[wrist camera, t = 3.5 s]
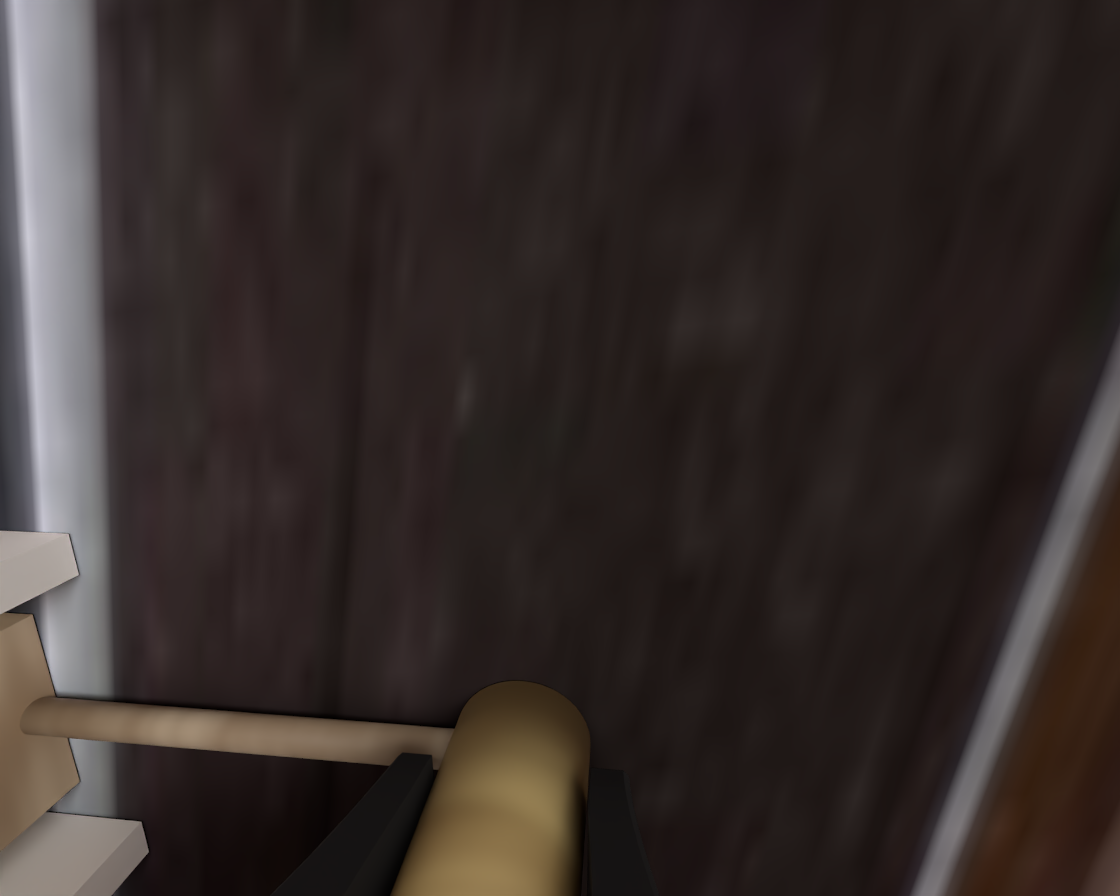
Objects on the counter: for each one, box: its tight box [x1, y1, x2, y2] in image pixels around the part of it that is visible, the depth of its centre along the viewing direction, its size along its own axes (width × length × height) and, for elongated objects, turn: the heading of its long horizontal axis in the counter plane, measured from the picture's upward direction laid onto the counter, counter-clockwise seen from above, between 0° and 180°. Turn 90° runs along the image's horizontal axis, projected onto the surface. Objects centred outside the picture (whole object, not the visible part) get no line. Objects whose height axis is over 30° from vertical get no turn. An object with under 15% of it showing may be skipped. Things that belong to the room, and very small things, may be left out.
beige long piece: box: [0, 613, 591, 896], centre depth 10 cm, size 5×18×6 cm, turn 90°
